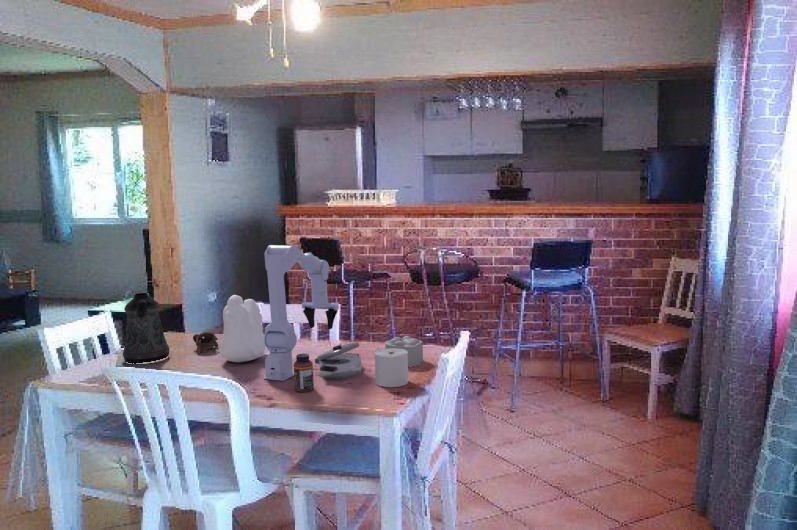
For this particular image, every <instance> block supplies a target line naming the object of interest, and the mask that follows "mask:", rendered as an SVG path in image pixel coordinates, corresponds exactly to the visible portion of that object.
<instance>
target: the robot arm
mask: <svg viewBox="0 0 797 530" xmlns="http://www.w3.org/2000/svg"><path fill="white" fill-rule="evenodd" d="M264 251H265V252H264V265H265V270H266V274H267V286H268V295H269V296H268V297H269V307H270V309H269V310H270V321H271V322H270V323H269V324H268V325H266V326H265V327H264V344H265V348H267V351H268V352H269V354H268V355H267V356H266V357H265V360H264V369H265V370H264V371H265V376H264V377H263V379H264V380H271V381H282V382H283V381H287V380H288V379H290V378H292V377H294V364H293V350H294V348H295V347H296V345H297V343H298V342H297V335H296V331H295V326H294V325H293V324H292V323H291V322H290V321H288V312H287V301H286V288H285V274H286V273H287V272H289V271H290V270H291V269H292V268H293V267H294V265H296V263H298V264H299V266H300V268H302V269H303V270H304V271H307V274H308V276H309V275H310V285H311V301H310V302H306V301H305V302H302V303H301V309H303V310H302V312H303V313H304V316H305V318H306V319H307V322H308V325H309V328H310V329H313V328H315V312H316V310H325V315H326V320H327V330H331V329H333V326H334V322H335V321H334V320H335V319H336V316H337V313H338V311H339V310H340V305H339V304H338V303H333V302H329V300H328V299H329V297H328V283H327V280H329V279H328V278H329V272H330V265H329V262H328V261H327V260H325V259H320V258H319V257H318V256H315V255H314V254H313V252H305V253H304V252H302V251H301V250H300V249H299V246H296V245H295V244H294V245H292V244H291V245H279V244H277V245H276V244H275V245H274V244H270V245H268V246H267V248H266V250H264Z"/></svg>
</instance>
